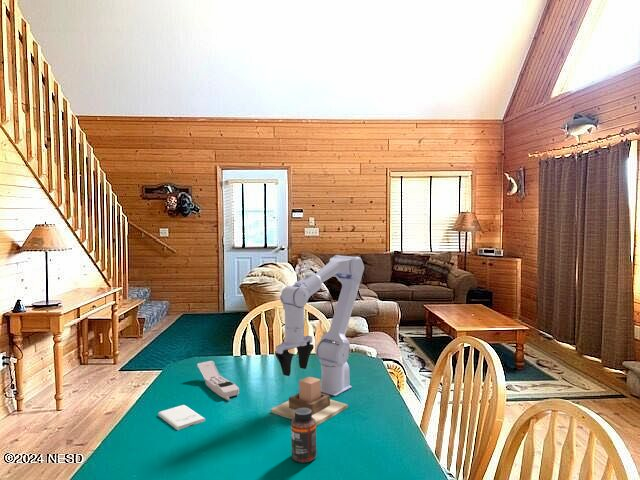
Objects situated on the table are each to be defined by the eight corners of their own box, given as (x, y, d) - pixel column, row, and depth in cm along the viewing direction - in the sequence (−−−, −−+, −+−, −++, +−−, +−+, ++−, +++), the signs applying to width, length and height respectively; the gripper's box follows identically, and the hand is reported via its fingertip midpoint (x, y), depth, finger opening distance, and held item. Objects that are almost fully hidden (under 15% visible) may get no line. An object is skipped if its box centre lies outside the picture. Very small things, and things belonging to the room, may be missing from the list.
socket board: (306, 395, 153) (306, 382, 152) (347, 407, 143) (347, 394, 143) (270, 412, 140) (270, 398, 140) (313, 427, 130) (313, 412, 130)
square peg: (309, 402, 145) (309, 376, 144) (321, 406, 142) (320, 379, 141) (299, 407, 141) (299, 380, 140) (311, 411, 138) (310, 383, 138)
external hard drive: (184, 409, 144) (205, 423, 135) (158, 417, 139) (177, 432, 129) (184, 404, 144) (205, 417, 135) (158, 412, 138) (177, 426, 129)
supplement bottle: (316, 450, 118) (316, 405, 117) (317, 463, 112) (316, 415, 111) (291, 451, 118) (291, 405, 117) (291, 464, 112) (290, 416, 111)
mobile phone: (212, 359, 171) (243, 379, 151) (212, 376, 172) (243, 398, 151) (195, 363, 168) (225, 384, 147) (196, 379, 168) (225, 403, 148)
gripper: (288, 333, 135) (289, 381, 136) (320, 323, 146) (320, 367, 147) (270, 330, 139) (270, 376, 140) (302, 320, 151) (302, 363, 152)
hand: (294, 371), depth 144 cm, fingers open, 7 cm apart
